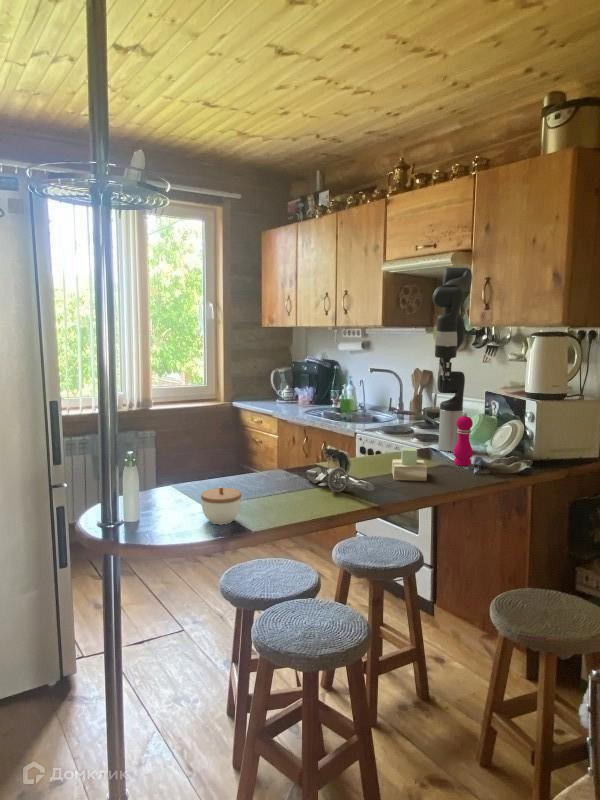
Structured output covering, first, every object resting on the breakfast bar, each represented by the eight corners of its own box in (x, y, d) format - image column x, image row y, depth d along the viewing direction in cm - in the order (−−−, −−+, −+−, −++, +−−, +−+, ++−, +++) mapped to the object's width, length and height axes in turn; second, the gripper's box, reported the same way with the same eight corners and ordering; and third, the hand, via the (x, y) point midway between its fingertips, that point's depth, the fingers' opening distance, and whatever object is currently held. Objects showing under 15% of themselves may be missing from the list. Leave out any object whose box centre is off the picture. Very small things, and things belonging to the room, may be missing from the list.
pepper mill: (474, 466, 225) (477, 414, 222) (455, 466, 225) (457, 413, 222) (469, 462, 232) (472, 411, 229) (450, 461, 232) (453, 410, 229)
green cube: (401, 461, 213) (401, 447, 212) (415, 461, 212) (415, 447, 211) (402, 464, 208) (402, 450, 207) (416, 465, 207) (417, 450, 207)
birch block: (391, 472, 216) (392, 459, 216) (422, 473, 215) (423, 460, 215) (393, 480, 206) (394, 466, 205) (426, 481, 205) (427, 467, 204)
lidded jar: (200, 528, 156) (199, 493, 155) (202, 515, 167) (202, 482, 165) (241, 527, 157) (241, 492, 156) (241, 514, 168) (241, 481, 167)
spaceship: (360, 482, 173) (379, 468, 176) (294, 469, 202) (311, 457, 206) (369, 505, 175) (388, 491, 178) (302, 489, 204) (319, 477, 208)
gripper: (433, 342, 222) (431, 386, 224) (437, 345, 208) (435, 391, 210) (453, 342, 221) (451, 386, 224) (459, 345, 207) (457, 392, 210)
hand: (444, 389), depth 217 cm, fingers open, 8 cm apart
